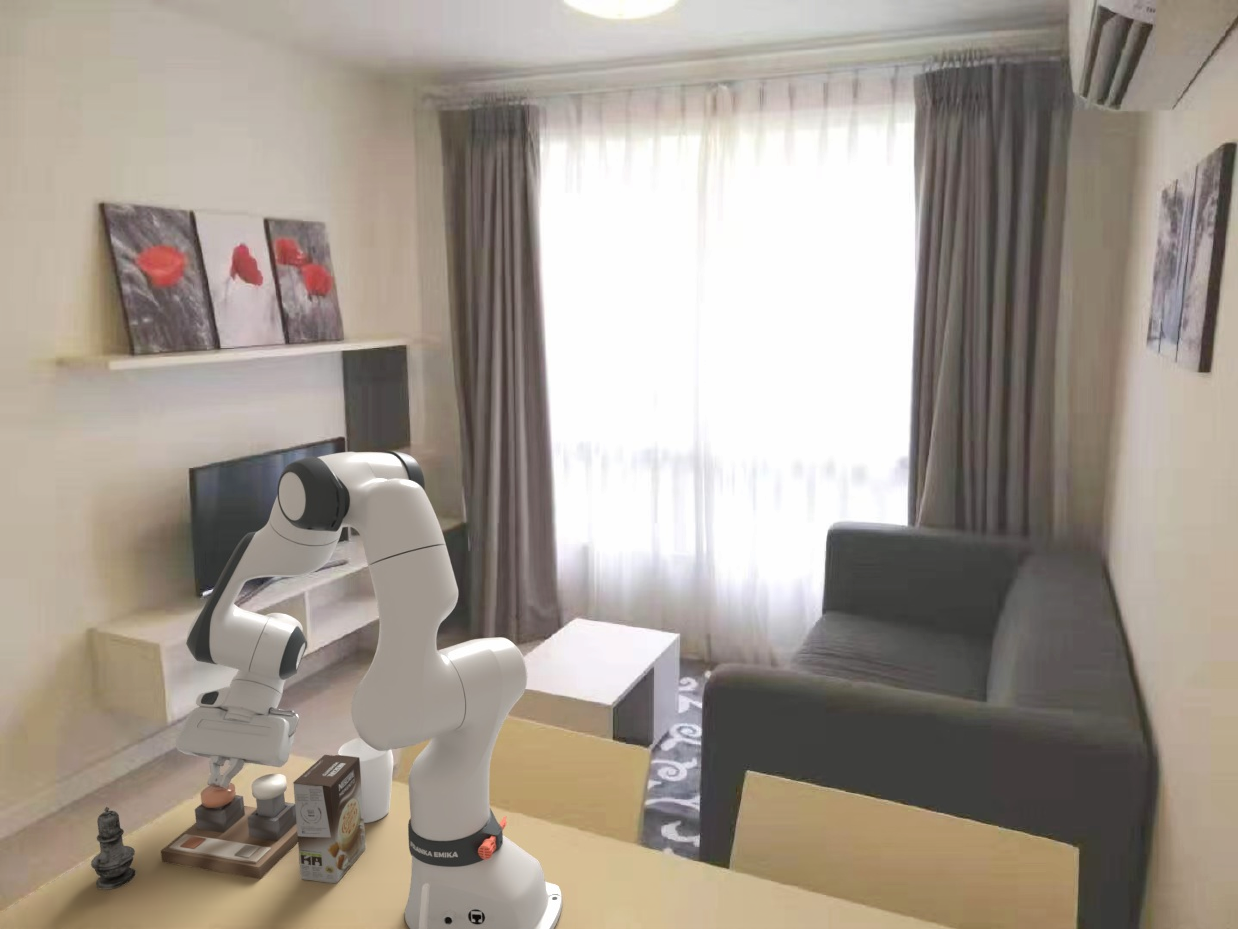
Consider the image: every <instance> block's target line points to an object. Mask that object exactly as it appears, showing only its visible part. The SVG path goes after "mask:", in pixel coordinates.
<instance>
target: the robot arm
mask: <svg viewBox="0 0 1238 929" xmlns="http://www.w3.org/2000/svg"><path fill="white" fill-rule="evenodd" d="M280 474H281V475H280V476H279V479H278V482H277V493H276V494H277V495H276V498H275V500H274V503H273V506H272V509H271V512H270V515H269V518H268V521H267V523H266V524H265V525H264V526H263V527H262V528H261V529H259V530H258V531H251V532H247V534H245V535H244V536H243V537H242V539H241V540H240V541H239V542H238V544H237V545H236V547H235V549H234V550H233V552H232V554H231V556H230V558H229V560H228V561H227V562H226V564H225V566H224V568H223V570H222V571H221V574H220V575H219V578H218V579H217V580H216V582H215V584H214V587H213V589H212V591H211V593H210V595H209V597H208V599H207V600H206V602H205V604H204V605H203V607H202V608H201V610H199V612H198V613H197V614H196V616H195V617H194V619H192V620H193V621H192V622H191V624H190V626H189V628H188V631H187V635H186V643H185V644H186V646H187V648H188V650H189V652H190V653H191V655H192V657H193V658H194V659H195V661H197V662H201V663H206V664H207V663H208V664H213V665H220V666H224V667H228V668H232V669H235V670H238V671H237V673H236V674H235V676H234V677H233V678H232V680H231V682H230V684H229V686H224V687H221V688H219V689H214V690H210V691H204V692H201V693H199V694H198V695H197V697H196V700H195V705H197V707H195V708H194V709H192V710H191V711H190V712H189V714H188V715H187V717H186V719H185V720H184V722H183V724H182V727H181V728H180V730H179V733H178V735H177V737H176V740H175V747H176V750H177V751H178V752H180V753H183V754H185V755H187V756H193V757H194V756H195V757H200V758H208V759H209V758H210V759H209V761H208V762H209V763H208V764H209V772H210V775H209V778H208V780H207V786H211V787H218V788H224V789H227V788H228V787H229V784H230V783H232V779H234V778H235V777H236V776H237V775H238V773H240V772H241V771H242V770H243V768H244V765H245V763H246V764H253V765H259V766H260V765H261V766H268V767H276V768H282V767H283V766H284V765H285V764H286V763H287V762H288V761H289V758H290V755H291V751H292V748H293V743H294V739H295V734H296V732H297V730H298V727H299V724H300V718H299V715H298V714H297V713H296V712H295V710H292V709H282V708H278V707H279V704H280V702H281V699H282V696H283V694H284V693H283V692H284V687H285V683H286V680H287V679H289V678H291V677H293V676H294V675H297V672H298V669H299V667H300V665H301V661H302V659H303V657H304V655H305V652H306V650H307V647H308V641H307V639H306V637H305V636H306V635H304V632H303V631H304V628H303V625H302V623H301V622H300V621H299V620H298V619H296V618H295V617H293V616H292V615H289V614H286V613H282V612H271V613H268V614H265V615H264V614H260V613H257V612H254V611H253V612H252V611H250V610H246V609H243V608H241V607H239V606H237V605H236V604H235V602H236V600H237V598H238V596H239V594H240V593H241V590H242V589H243V587H244V585H245V584H246V582H248V581H251V580H254V579H260V578H272V577H273V578H274V577H275V578H296V577H302V576H305V575H308V574H312V573H314V572H316V571H318V570H320V569H321V568H322V567H323V568H324V566H325V565H326V564H328V563H329V561H330V560H331V558H332V556H333V553H334V552H335V550H336V548H337V545H338V542H339V540H340V537H341V534H342V530H343V528H348V527H349V528H353V530H355V531H356V532H358V534H359V535H360V538H361V541H362V544H363V548H364V550H363V551H364V554H365V558H366V563H367V566H368V571H369V574H370V578H371V583H372V587H373V590H374V591H373V592H374V596H375V603H376V608H377V613H378V619H379V620H378V621H379V627H378V628H379V629H378V630H379V631H378V639H377V646H376V650H375V654H374V656H373V659H372V662H371V664H370V666H369V668H368V670H367V671H366V673H365V674H364V676H363V678H362V679H361V680H359V683H358V684H357V685H356V688H355V690H354V693H353V694H352V700H351V706H350V715H351V721H352V723H353V724H352V725H353V728H354V729H355V732H356V733H357V735H358V736H359V738H360V737H361V739H362V740H363V741H364V742H365V743H366V744H368V745H369V746H370V747H372V748H374V749H376V750H378V751H384V750H391V749H392V750H397V749H403V748H408V747H409V748H410V747H414V746H416V745H419V744H421V743H424V742H426V741H429V740H430V741H429V742H428V744H427V745H426V746H425V747H424V749H422V750H421V752H420V753H419V754H418V755H417V756H416V758H415V760H414V761H413V763H412V765H411V767H410V770H409V773H408V779H407V780H408V781H407V783H408V784H407V785H408V800H409V812H410V818H409V820H408V824H407V825H408V826H407V828H408V829H407V830H408V832H407V833H408V849H409V853H410V855H411V876H410V884H409V885H410V886H409V891H408V898H407V902H406V905H405V909H404V910H405V911H404V918H405V919H404V920H405V922H406V924H407V926H408V928H409V929H555V927H556V925H557V923H558V921H559V918H560V916H561V912H562V908H563V898H562V897H563V896H562V891H561V888H560V887H559V885H557V884H554V883H551V882H547V881H546V877H545V873H544V870H543V867H542V865H541V863H540V862H539V860H538V859H537V858H535V857H534V856H533V855H531V854H530V853H528V852H527V851H526V850H524V849H523V848H521V847H520V846H518V844H516V843H515V842H513V841H512V840H511V839H510V838H508V837H506V836H505V835H504V834H503V830H504V829H505V828H506V826H507V823H508V822H507V816H506V815H504V817H503V818H502V819H501V821H500V822H498V820H497V819H496V816H495V814H494V812H493V811H492V808H491V806H490V767H491V760H492V755H493V751H494V747H495V745H496V742H497V739H498V736H499V734H500V731H501V729H502V727H503V725H504V722H505V721H506V718H507V716H508V715H509V713H510V712H511V710H512V709H513V707H514V706H515V705H516V703H518V701H519V700H520V699H521V698H522V696H523V695H524V694H525V691H526V688H527V684H528V678H529V676H528V674H529V673H528V667H527V661H526V659H525V657H524V654H522V652H521V650H520V648H519V647H518V646H517V645H515V644H514V642H513V641H511V640H510V639H508V638H506V637H500V636H499V637H486V638H485V637H483V638H474V639H470V640H466V641H464V642H461V643H457V644H455V645H450V646H447V647H445V648H442V649H438V648H437V636H438V630H439V627H440V625H441V623H442V622H443V621H445V619H447V617H448V616H450V614H451V613H452V612H453V610H454V609H455V607H456V605H457V603H458V600H459V599H458V598H459V588H458V584H457V580H456V576H455V573H454V569H453V566H452V563H451V558H450V555H449V551H448V548H447V544H446V540H445V536H444V534H443V530H442V527H441V525H440V521H439V520H438V517H437V515H436V513H435V510H434V508H433V505H432V503H431V502H430V499H429V497H428V495H427V493H426V491H425V489H426V488H425V487H426V486H425V484H426V483H425V476H424V473H423V470H422V468H421V467H420V464H419V463H418V462H417V460H416V459H415V458H414V457H413V456H411V455H409V454H407V453H404V452H400V451H391V450H385V451H382V452H379V451H378V452H376V451H374V452H373V451H363V452H362V451H360V452H357V451H356V452H355V451H344V452H336V453H332V454H331V453H329V454H326V455H320V456H306V457H304V458H300V459H297V460H295V461H293V462H291V463H289V464H287V465H286V466H285V467H284V468H283V470H282V472H281V473H280ZM226 761H229V762H228V765H229V767H228V768H227V770H225V772H224V773H223V774H221V767H224V766H225V763H226Z"/></svg>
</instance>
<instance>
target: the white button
mask: <svg viewBox="0 0 1238 929" xmlns="http://www.w3.org/2000/svg"><path fill="white" fill-rule="evenodd" d="M287 784H288V783H287V776H285V775H284V774H282V773H269V774H265V775H263V776H262V775H261V776H260V777H257V778H255V780H253V782H252V783H251V793H252V794H251V795H252V797H253V798H254V799H256V800H255V802H256V808H257V812H258V815H259V816H265V817H272V818H274V817H275V816H277V815H278V814H279V813H280V812H281V811H282V810H283V809H284V808H285V802H286V801H285V798H286V797H285V792H286V791H287Z"/></svg>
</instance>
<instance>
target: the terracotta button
mask: <svg viewBox="0 0 1238 929" xmlns="http://www.w3.org/2000/svg"><path fill="white" fill-rule="evenodd" d="M236 793H237V792H236V786H235V784H234V783H232V782H230V784H229V787H228V788H227V789H224V788H218V787H211V786H209V785H207V787H205V788H203V789H202V790H201V791H200V802H201V803H200V804H202V805H203V806H204V807H205V808H211V809H218V810H222V809H223V808H224V807H225V806H227V805H228V804H229V803H230V802H231V801H233V800H234V799H235V797H236V795H237V794H236Z"/></svg>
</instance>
